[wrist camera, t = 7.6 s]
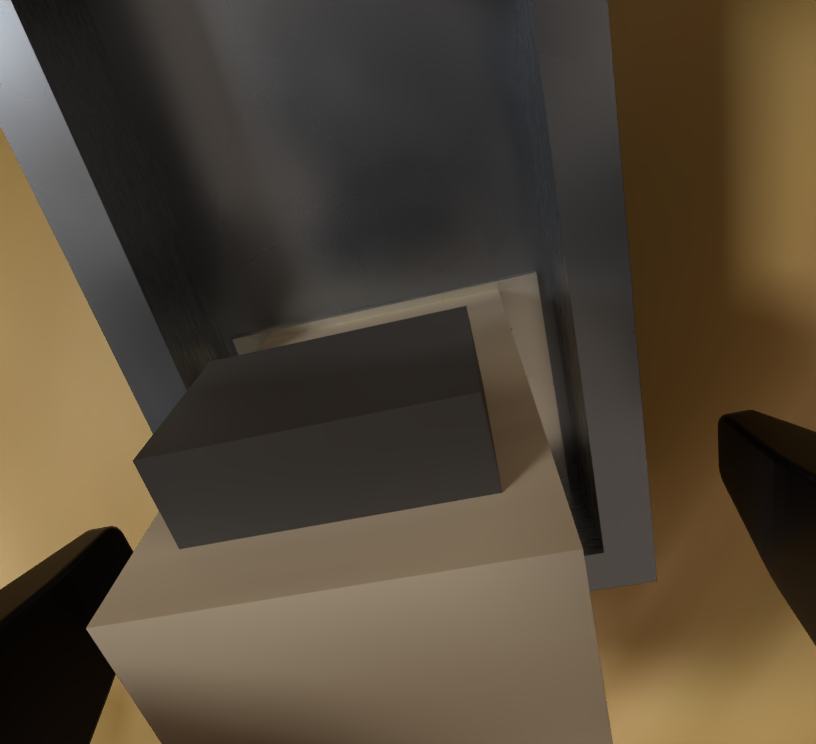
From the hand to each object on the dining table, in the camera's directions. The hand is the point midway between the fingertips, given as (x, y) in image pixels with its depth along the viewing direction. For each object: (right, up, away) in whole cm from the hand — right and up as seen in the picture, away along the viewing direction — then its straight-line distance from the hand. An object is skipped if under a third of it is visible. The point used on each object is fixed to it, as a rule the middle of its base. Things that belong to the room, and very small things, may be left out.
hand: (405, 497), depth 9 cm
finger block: (0, +1, +2) cm, 2 cm away
